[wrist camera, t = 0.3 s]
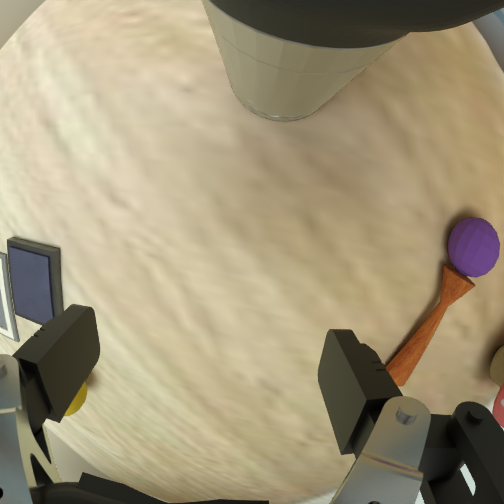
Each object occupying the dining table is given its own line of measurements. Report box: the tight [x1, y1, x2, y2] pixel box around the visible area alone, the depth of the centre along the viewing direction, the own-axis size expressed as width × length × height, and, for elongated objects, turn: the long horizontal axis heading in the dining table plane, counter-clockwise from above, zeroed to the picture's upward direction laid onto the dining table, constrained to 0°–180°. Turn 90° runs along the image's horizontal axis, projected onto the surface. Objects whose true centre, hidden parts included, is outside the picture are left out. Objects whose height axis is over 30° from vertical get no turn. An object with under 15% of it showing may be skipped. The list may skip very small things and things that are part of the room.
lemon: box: [64, 382, 87, 416], centre depth 29 cm, size 6×6×8 cm
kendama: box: [386, 217, 500, 386], centre depth 27 cm, size 6×6×20 cm
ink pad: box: [7, 237, 63, 325], centre depth 29 cm, size 10×8×2 cm
